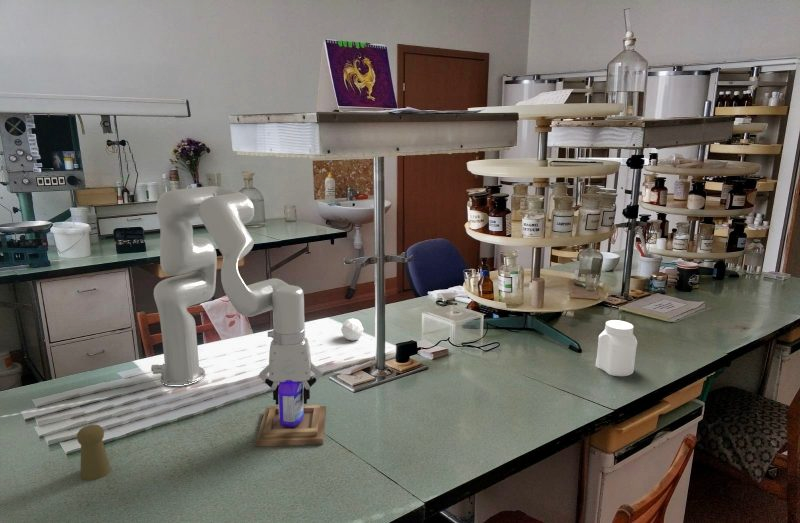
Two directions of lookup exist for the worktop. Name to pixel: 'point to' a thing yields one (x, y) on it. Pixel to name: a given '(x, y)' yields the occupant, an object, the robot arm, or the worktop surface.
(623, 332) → the jar
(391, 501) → the worktop surface
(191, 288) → the robot arm
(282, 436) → the walnut base
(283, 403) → the bottle
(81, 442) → the tan game pawn
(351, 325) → the geometric ball
